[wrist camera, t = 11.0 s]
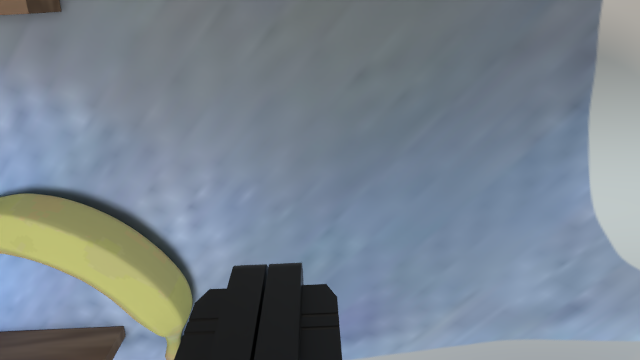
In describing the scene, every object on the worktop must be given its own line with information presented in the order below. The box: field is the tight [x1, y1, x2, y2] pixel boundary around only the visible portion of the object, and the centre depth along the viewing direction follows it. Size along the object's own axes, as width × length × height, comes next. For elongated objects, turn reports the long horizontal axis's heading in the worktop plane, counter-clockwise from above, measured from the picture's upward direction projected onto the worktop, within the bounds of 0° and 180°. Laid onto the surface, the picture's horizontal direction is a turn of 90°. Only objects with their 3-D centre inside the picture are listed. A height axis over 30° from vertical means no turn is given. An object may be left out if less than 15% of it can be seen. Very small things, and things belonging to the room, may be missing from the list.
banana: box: [0, 193, 192, 360], centre depth 43 cm, size 14×6×20 cm
